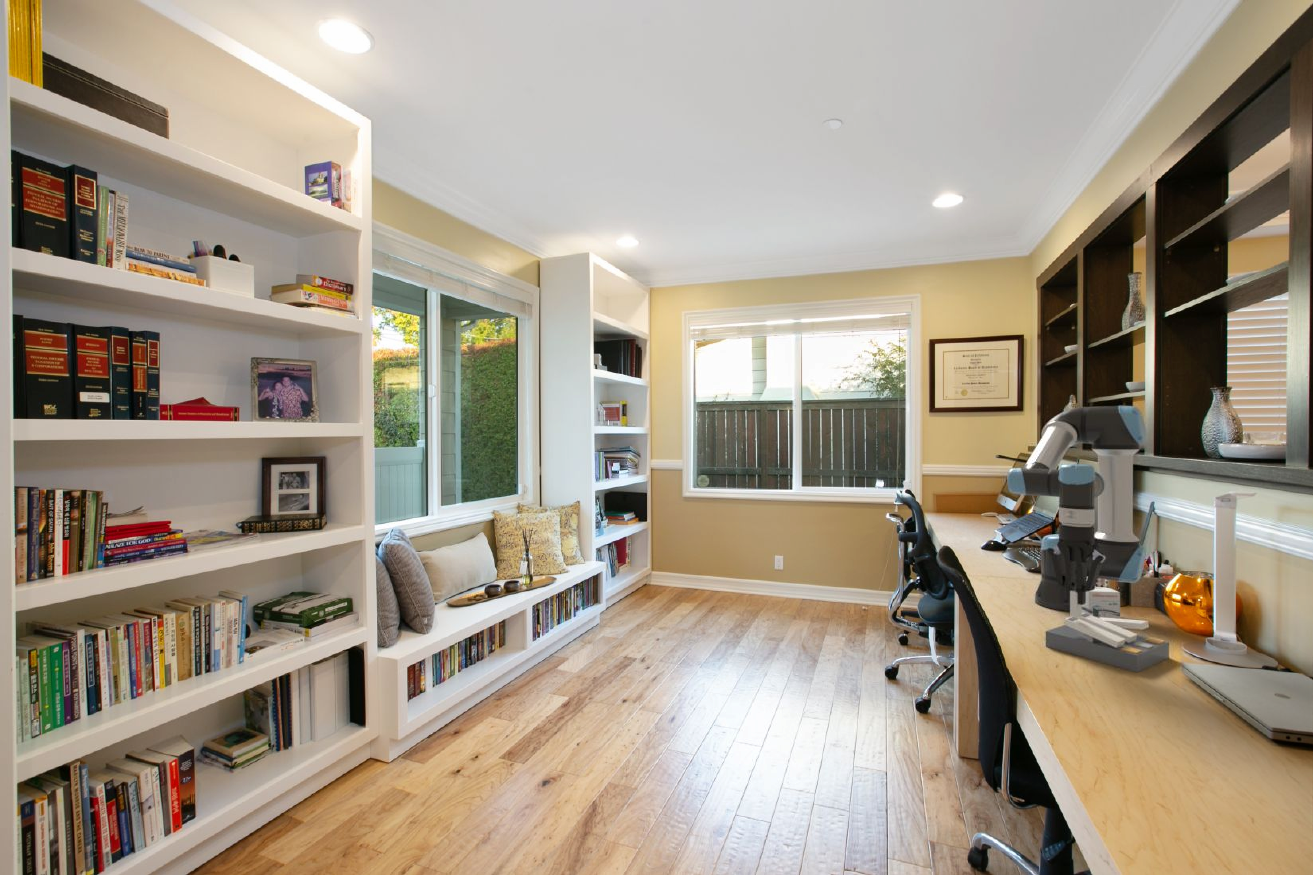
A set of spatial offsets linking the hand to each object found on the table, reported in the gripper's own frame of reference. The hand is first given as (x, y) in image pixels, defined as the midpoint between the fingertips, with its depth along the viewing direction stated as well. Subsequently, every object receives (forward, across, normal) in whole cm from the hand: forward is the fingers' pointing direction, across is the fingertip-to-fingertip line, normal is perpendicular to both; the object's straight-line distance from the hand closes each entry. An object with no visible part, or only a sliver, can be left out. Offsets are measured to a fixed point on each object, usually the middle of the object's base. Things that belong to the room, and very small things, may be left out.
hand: (1075, 615), depth 153 cm
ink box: (+9, -5, +25) cm, 27 cm away
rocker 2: (+3, +4, +7) cm, 8 cm away
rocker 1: (+3, +4, 0) cm, 5 cm away
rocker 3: (+3, +4, +13) cm, 14 cm away
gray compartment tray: (+9, +4, +7) cm, 12 cm away
